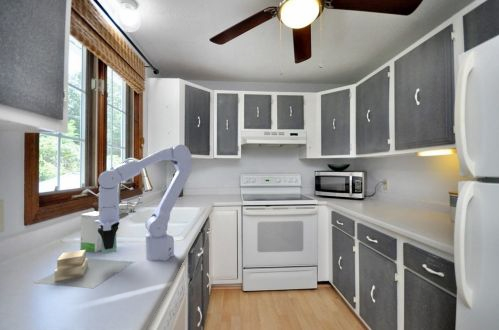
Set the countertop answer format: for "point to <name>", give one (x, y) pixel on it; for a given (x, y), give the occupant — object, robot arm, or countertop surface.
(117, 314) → the countertop surface
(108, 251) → the sage block
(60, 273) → the maple slab lower
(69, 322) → the countertop surface
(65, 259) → the maple slab upper
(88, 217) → the skincare box
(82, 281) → the grey board
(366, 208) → the countertop surface
